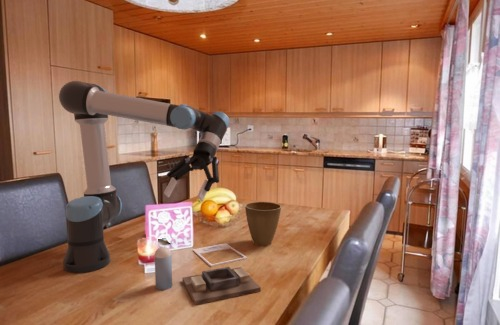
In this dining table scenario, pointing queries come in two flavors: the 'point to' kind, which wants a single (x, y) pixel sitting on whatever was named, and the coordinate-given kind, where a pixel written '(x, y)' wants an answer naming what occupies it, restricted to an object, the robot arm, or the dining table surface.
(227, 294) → the jig board
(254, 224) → the plant pot
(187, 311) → the dining table surface
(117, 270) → the dining table surface
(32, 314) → the dining table surface
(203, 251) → the photo frame
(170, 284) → the grey cylinder bottle
